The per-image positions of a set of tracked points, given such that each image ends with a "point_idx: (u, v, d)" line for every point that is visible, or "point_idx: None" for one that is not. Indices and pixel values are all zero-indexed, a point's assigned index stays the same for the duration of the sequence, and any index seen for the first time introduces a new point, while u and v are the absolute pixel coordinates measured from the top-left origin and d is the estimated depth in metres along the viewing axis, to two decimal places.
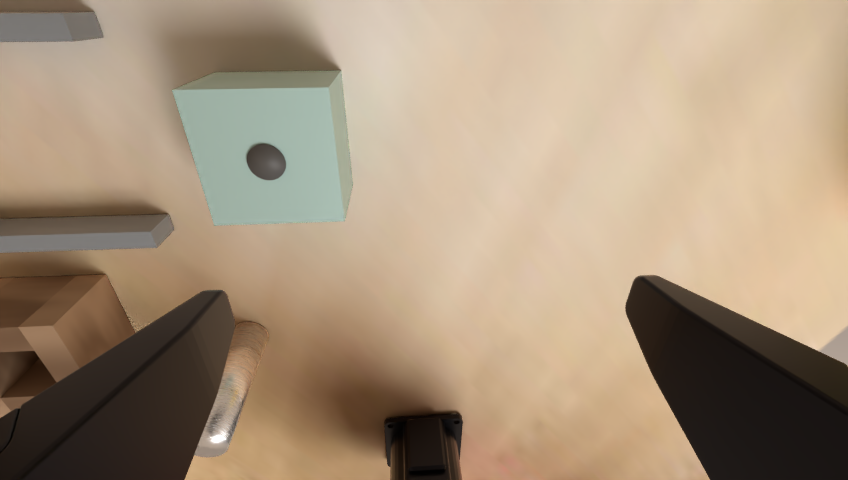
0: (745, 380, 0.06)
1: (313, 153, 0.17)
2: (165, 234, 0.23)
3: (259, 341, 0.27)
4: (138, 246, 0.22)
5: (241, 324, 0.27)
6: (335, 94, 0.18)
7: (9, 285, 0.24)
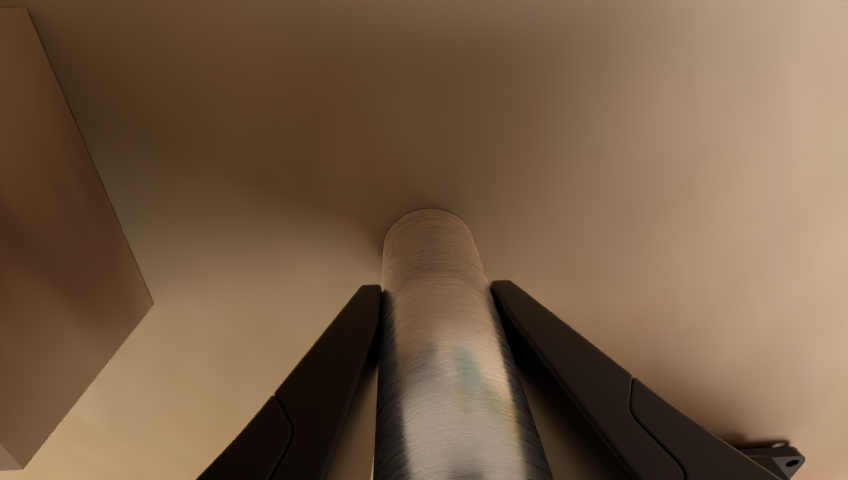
0: (543, 390, 0.06)
1: None
2: None
3: (479, 257, 0.09)
4: None
5: (417, 214, 0.10)
6: None
7: None
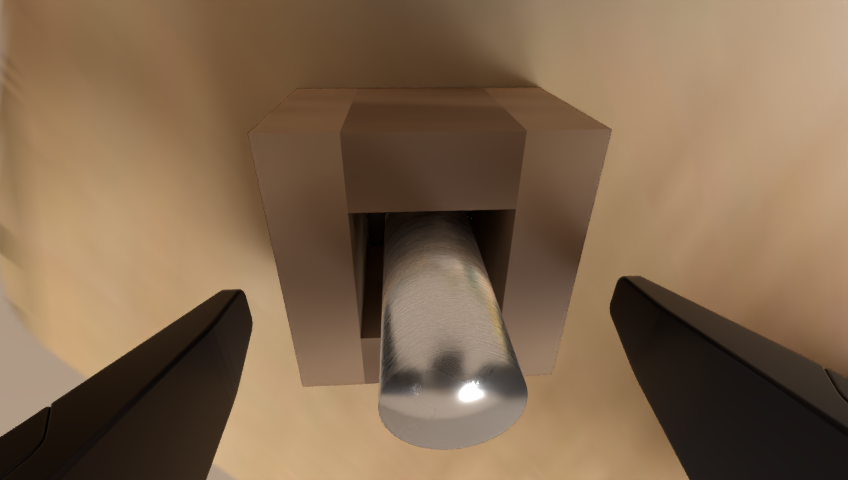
0: (722, 381, 0.06)
1: None
2: None
3: None
4: None
5: None
6: None
7: (367, 93, 0.11)
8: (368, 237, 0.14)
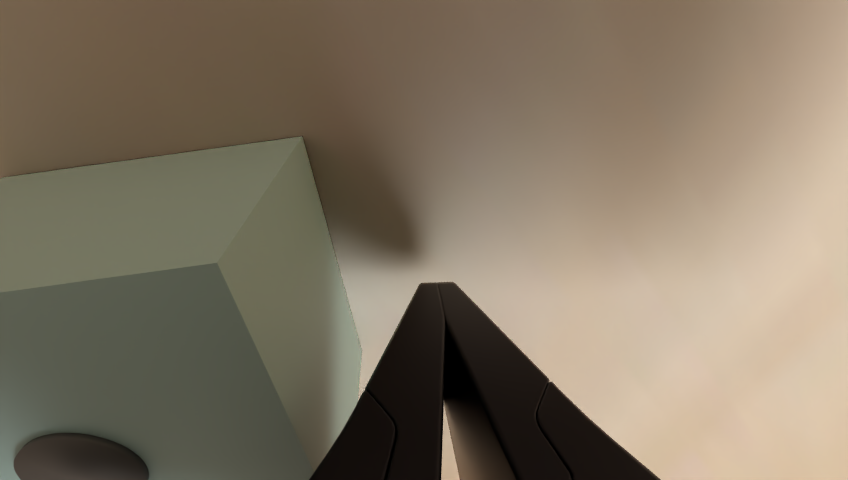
0: (465, 394, 0.06)
1: (221, 433, 0.05)
2: None
3: None
4: None
5: None
6: (275, 232, 0.06)
7: None
8: None
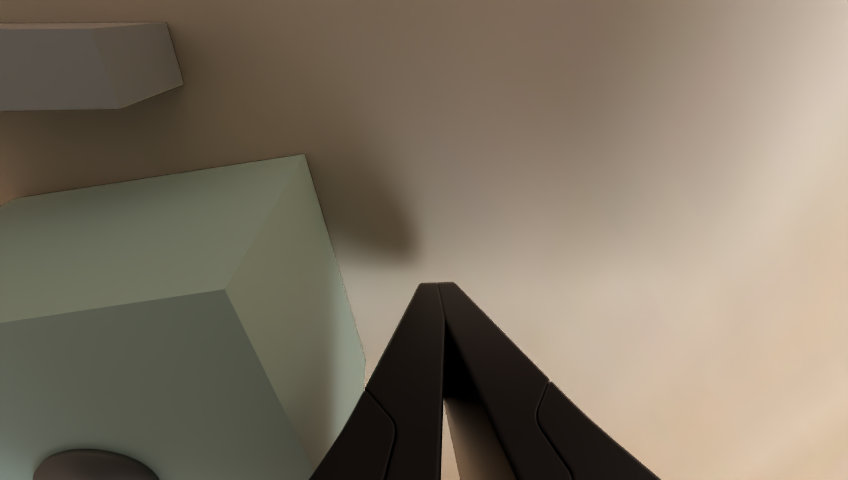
0: (465, 394, 0.06)
1: (230, 448, 0.06)
2: None
3: None
4: None
5: None
6: (279, 252, 0.06)
7: None
8: None
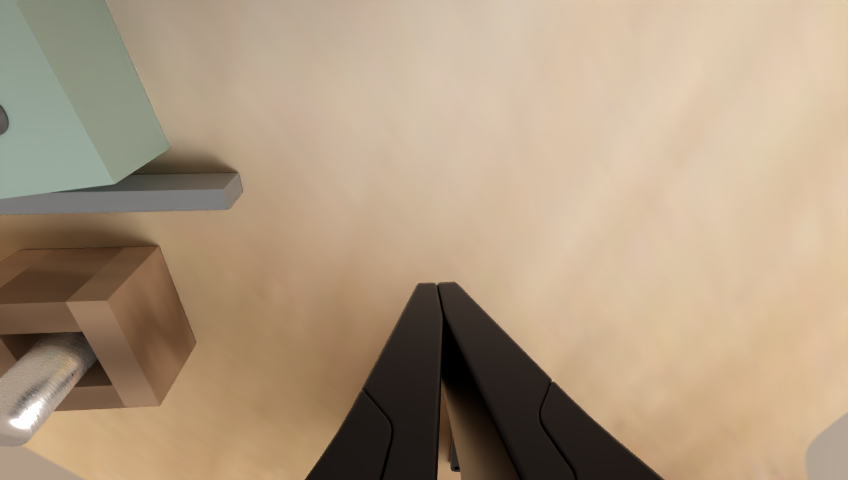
0: (467, 394, 0.06)
1: (35, 94, 0.13)
2: (235, 195, 0.19)
3: None
4: (207, 207, 0.18)
5: None
6: (63, 18, 0.14)
7: (48, 257, 0.20)
8: None
